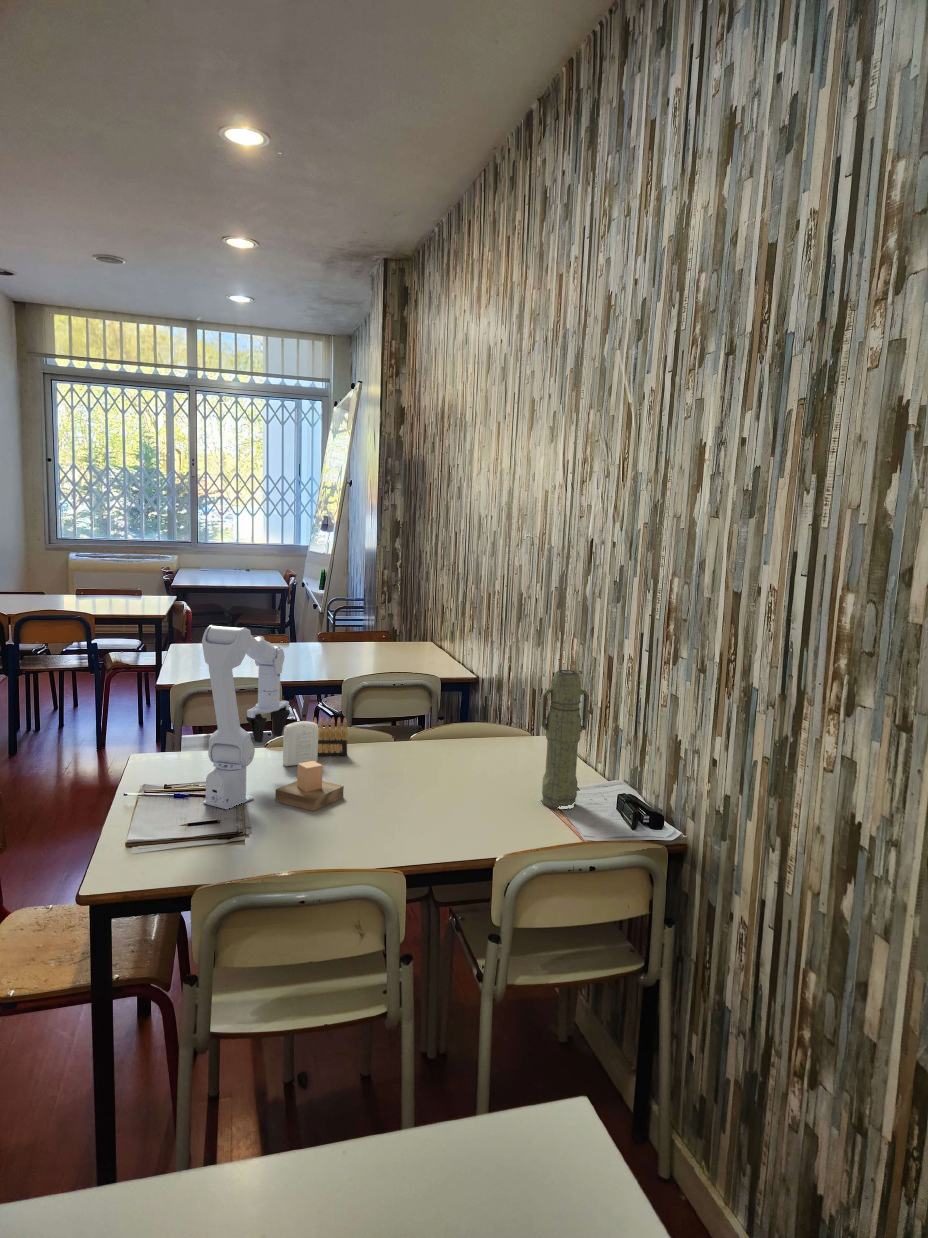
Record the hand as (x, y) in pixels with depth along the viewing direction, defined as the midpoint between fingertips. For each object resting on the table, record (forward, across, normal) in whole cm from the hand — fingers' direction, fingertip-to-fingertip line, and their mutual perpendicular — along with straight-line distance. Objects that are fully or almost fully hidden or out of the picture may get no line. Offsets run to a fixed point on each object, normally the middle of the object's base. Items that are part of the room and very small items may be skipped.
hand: (268, 738), depth 215 cm
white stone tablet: (+11, -14, 0) cm, 18 cm away
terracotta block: (+7, +8, +21) cm, 23 cm away
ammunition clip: (+11, -25, +2) cm, 27 cm away
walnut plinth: (+10, +8, +21) cm, 25 cm away
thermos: (+11, -26, +75) cm, 80 cm away
